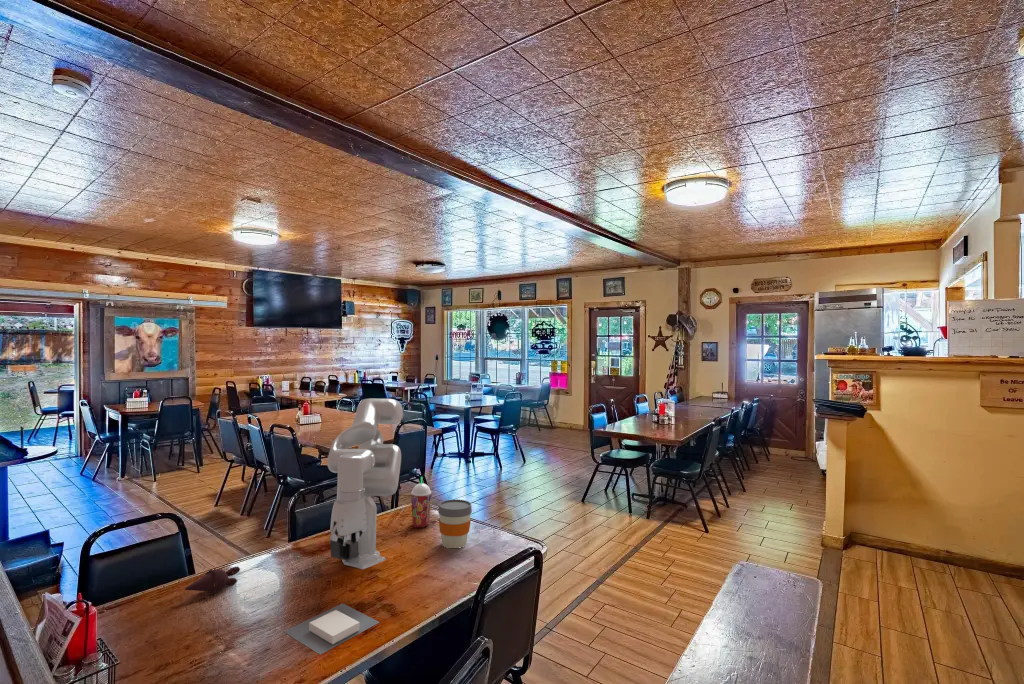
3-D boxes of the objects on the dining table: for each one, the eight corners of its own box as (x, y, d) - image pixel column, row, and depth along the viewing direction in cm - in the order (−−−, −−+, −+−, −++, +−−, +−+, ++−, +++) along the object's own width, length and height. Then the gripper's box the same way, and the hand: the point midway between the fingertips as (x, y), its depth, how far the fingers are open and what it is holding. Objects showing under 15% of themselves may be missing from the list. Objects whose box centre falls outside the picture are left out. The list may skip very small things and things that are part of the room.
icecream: (193, 584, 144) (246, 570, 156) (182, 570, 148) (235, 558, 160) (187, 607, 144) (241, 591, 156) (177, 592, 149) (230, 578, 161)
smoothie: (434, 523, 213) (435, 475, 213) (423, 530, 206) (424, 480, 206) (418, 520, 217) (419, 473, 217) (406, 526, 209) (407, 477, 209)
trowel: (323, 559, 157) (322, 542, 157) (345, 551, 163) (344, 535, 164) (363, 569, 146) (362, 551, 146) (385, 560, 152) (384, 542, 153)
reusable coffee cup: (453, 535, 201) (454, 497, 201) (477, 543, 194) (478, 503, 194) (430, 545, 191) (431, 505, 191) (455, 554, 184) (456, 512, 184)
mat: (283, 633, 132) (283, 631, 132) (342, 605, 147) (342, 603, 147) (320, 657, 123) (320, 654, 123) (379, 624, 137) (379, 622, 137)
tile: (309, 622, 132) (332, 636, 126) (335, 609, 139) (359, 622, 133) (309, 631, 132) (332, 645, 126) (335, 618, 139) (359, 631, 133)
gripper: (363, 487, 165) (362, 545, 165) (319, 499, 152) (317, 561, 152) (379, 491, 161) (377, 550, 160) (334, 503, 148) (332, 568, 147)
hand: (348, 555), depth 156 cm, fingers closed on trowel, 2 cm apart
